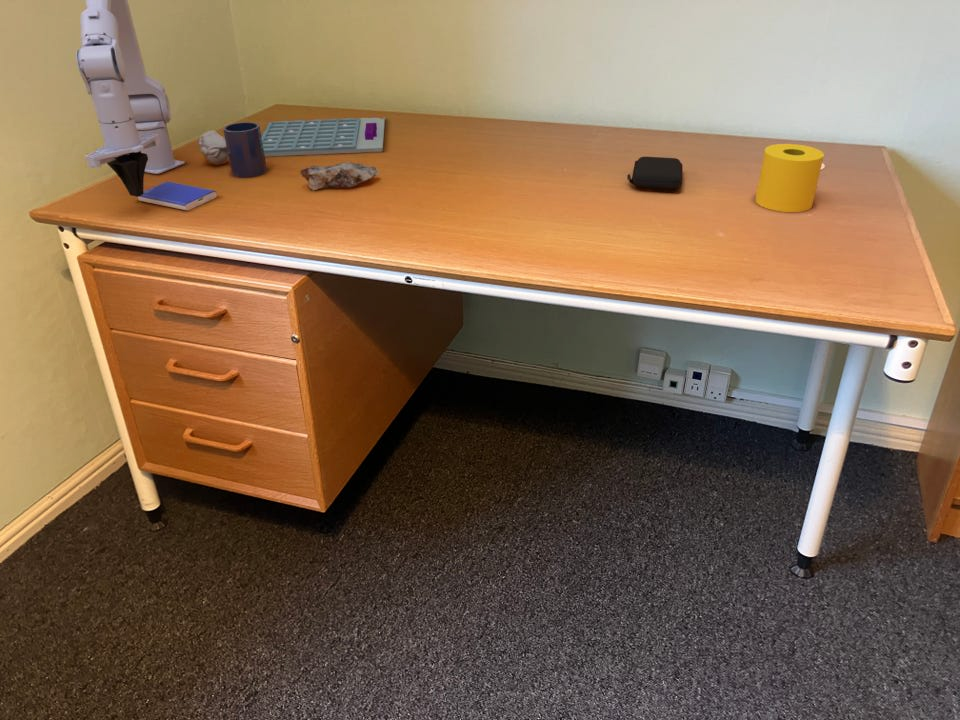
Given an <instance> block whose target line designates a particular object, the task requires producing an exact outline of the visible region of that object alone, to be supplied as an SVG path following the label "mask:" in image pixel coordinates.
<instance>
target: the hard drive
mask: <svg viewBox="0 0 960 720" xmlns="http://www.w3.org/2000/svg"><path fill="white" fill-rule="evenodd" d="M217 197H218V195H217V191H216V190H214V189H208V188H203V187H199V186H193V185H187V184H182V183H177V182H173V181H165V182H163V183H160V184H158V185H155V186H152V187H150V188H148V189H146V190H143V195H141V196H139V197H137V200H138V201H139V202H144V203H149V204H154V205H158V206H163V207H168V208H173V209H177V210H182V211H186V212H188V211H190V210H192V209H194V208H196V207H199V206H201V205H204V204H206V203H207V202H210V201H212V200H214V199H216V198H217Z"/></svg>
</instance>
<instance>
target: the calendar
mask: <svg viewBox="0 0 960 720" xmlns="http://www.w3.org/2000/svg"><path fill="white" fill-rule="evenodd" d="M385 126H386V117H385V116H384V117H383V118H380V117H379V118H378V117H374V116H373V117H372V118H371V117H361V118H358V117H357V118H352V117H349V118H330V119H317V118H316V119H311V120H310V119H309V120H307V119H306V120H301V119H297V120H283V121H282V120H281V121H269V122H268V123H267V125H266V128H265V129H264V131H263V133H262V134H261V137H262V143H263V149H264V155H265V158H266V157H286V156H287V157H288V156H289V157H290V156H311V155H332V154H334V155H336V154H352V153H353V154H355V153H356V154H357V153H380V152H381V153H382V152H384V142H385V141H384V139H385Z"/></svg>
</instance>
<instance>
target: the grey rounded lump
mask: <svg viewBox="0 0 960 720" xmlns="http://www.w3.org/2000/svg"><path fill="white" fill-rule="evenodd" d="M198 147H199V149H200V152H201V154H203V156H204V158H205V159H206V160H207V162H209V163H210V164H212V165H214V166H215V165H216V166H220V165H223V164H225V163H226V162H227V161H228V160H229V156H228V151H227V146H226V141H225V137H224V136H222V135H220V134H219V133H218V132H217V131H216V130H208V131H205V132H204V133H201V134H200V137H199V139H198Z"/></svg>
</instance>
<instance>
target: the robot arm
mask: <svg viewBox="0 0 960 720" xmlns="http://www.w3.org/2000/svg"><path fill="white" fill-rule="evenodd" d="M85 5H86V9H84V10H83V11H82V12H81V14H80V15H79V16H80V17H79V23H80V44H81V45H80V46H81V47H80V49H76V52H75V58H76V64H77V68H78V71H79V73H80V76H81V79H82V80H83V81H82V82H83V83H84V85H85V88H86V92H87V94H88V95H89V96H91V100H92V103H93V108H94V111H95V115H96V118H97V122H98V124H99V128H100V132H101V135H102V139H103V143H104V146H102V147H100V148H99V149H97V150H95V151H93V152H91V153H89V154H86V155H85V156H84V157H85V160H86V163H87V167H89V168H94V169H98V168H101V167H102V165H105V164H107V165H108V166H109V167H110V168H111V169H112V170H113V171H114V172H115V174H116V175H117V176H118V177H119V179H120V180H121V182H122V183H123V185H124V186H125V187H124V188H125V189H126V190H127V192H128V194H129V196H130V197H136V198H138V197H139V196H141V195H143V191H144V181H145V178H144V177H145V173H148V174H153V175H160V174H162V173H165V172H169V171H170V170H172V169H176V168H178V167H180V166H182V165H185V161H183V160H177V159H176V158H175V156H174V151H173V148H172V147H173V146H172V143H171V138H170V135H169V131H168V126H167V124H168V123H170V121H171V120H172V110H171V105H170V101H169V96H168V94H167V93H166V90H165V86H164V85H163V83H161V82H160V81H159V80H157V79H154V78H153V77H151V76H150V75H148V74H147V72H146V69H145V65H144V60H143V56H142V51H141V47H140V44H139V41H138V36H137V33H136V28H135V25H134V20H133V16H132V13H131V10H130V5H129V2H128V0H85Z"/></svg>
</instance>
